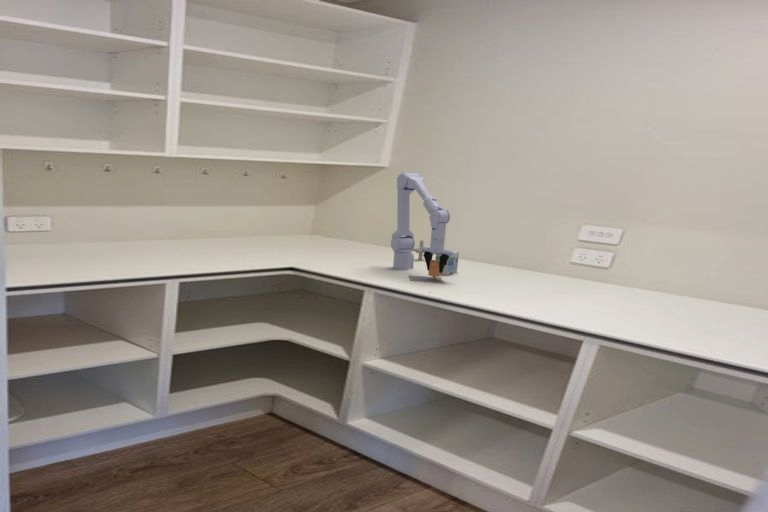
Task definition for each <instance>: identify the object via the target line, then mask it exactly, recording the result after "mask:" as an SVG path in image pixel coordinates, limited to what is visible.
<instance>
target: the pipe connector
mask: <svg viewBox="0 0 768 512" xmlns="http://www.w3.org/2000/svg"><path fill="white" fill-rule="evenodd" d="M420 247H424V240H419V246H418V248H417V247H414V248H413V249H412V252H415V253H417V254H418V261H423V254H424V253H425V252H420Z"/></svg>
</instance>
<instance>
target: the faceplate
mask: <svg viewBox="0 0 768 512" xmlns="http://www.w3.org/2000/svg"><path fill="white" fill-rule="evenodd" d="M408 278H409V281H410V282H422V283H436V284H437V283H439V284H445V281H444V280H443V278H442V277H441V276H439V277H434V276H426V275H423V276H422V275H411V274H410V275H408Z"/></svg>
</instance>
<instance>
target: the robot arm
mask: <svg viewBox="0 0 768 512" xmlns="http://www.w3.org/2000/svg"><path fill="white" fill-rule="evenodd" d="M424 182H425V178H424V177H423V174H421V173H419V172H417V173H416V172H414V173H413V172H403V171H402V172H400V174H398V176H397V177H396V184H397V185H396V190H397V194H396V195H397V198H396V199H397V201H396V202H397V205H396V206H397V209H396V210H397V213H396V214H397V217H396V218H397V220H396V221H397V226H396V227H397V229H396V230H395V231H394V232H393V233H392V234H391V235H392V236H391V241H390V246H391V247H390V248H391V249H392V251H393V262H392V263H393V265H392V268H393V269H395V270H400V271H407V270H409V269H414V263H415V262H414V261H415V260H414V259H415V255H414V253H413V251H412V249H413V248H415V246H416V243H415V242H416V241H415V238H414V237H415V236H414V233H413V232H412V231H411V230H410V195H411V194H412V192H414V191H416V192H417V194H418V195H419V196H420V197H421V199H422V200H423V203H422V204H423V206H424V208H425V209H426V211H427V213H428V214H429V222H430V228H431V233H430V234H431V235H430V243H429V245H430V246H429V247H425V246H423V247H420V246H419V247H420V252H425V253H423V254H422V257H423V258H424V260H425V264H426V269H427V270H426V271H428V272H429V266H430V260H433V255H436V254H438V255H442V256H440V269H439V273H442V272H443V269H444V266H445V264H446V262H447V260H448V259H449V256H450V257H453V256H454V252H452V251H453V250H450V251H448V250H449V249H445V243H446V242H445V241H446V230H447V224H448V223H449V221H450V219H451V215H450V213H449V210H448V209H444V208H443V207H442V205H441V204H440V203H439V202H438V199H437V198H436V196H432V195H431V194H430V192H429V191H428V189H427V186H426V184H425V183H424Z"/></svg>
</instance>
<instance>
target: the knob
mask: <svg viewBox="0 0 768 512" xmlns="http://www.w3.org/2000/svg"><path fill="white" fill-rule="evenodd" d="M439 269H440V261H439V260H436V259H432V260H430V266H429V271H428V274H427V275H428V276H429V277H433V276H434V277H441V276H442V275H441V273H439Z"/></svg>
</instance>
